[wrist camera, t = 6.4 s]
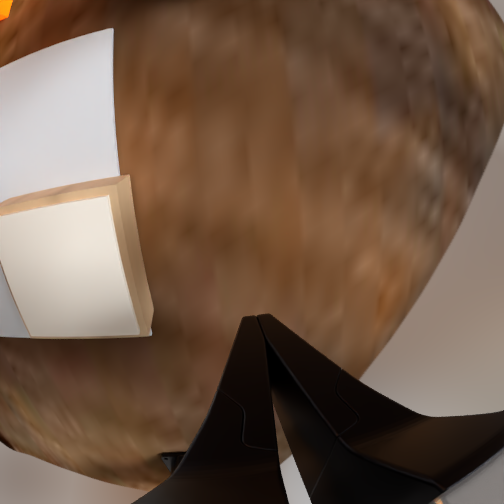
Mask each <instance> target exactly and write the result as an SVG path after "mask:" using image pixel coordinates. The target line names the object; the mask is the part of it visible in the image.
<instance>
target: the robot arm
mask: <svg viewBox="0 0 504 504" xmlns="http://www.w3.org/2000/svg"><path fill="white" fill-rule="evenodd" d="M272 401H273V402H272ZM273 404H274V407H275V409H276V412H277V415H278V417H279V420H280V423H281V425H282V428H283V431H284V433H285V436H286V439H287V441H288V444H289V447H290V449H291V452H292V454H293V457H294V460H295V462H296V465H297V467H298V470H299V472H300V475H301V478H302V480H303V482H304V485H305V488H306V490H307V492H308V495H309V497H310V500H311V503H312V504H504V410H503V411H500V412H494V413H486V414H477V415H465V416H450V417H430V416H425V415H421V414H419V413H416V412H414V411H412V410H410V409H408V408H406V407H404V406H403V405H401V404H399V403H397V402H395V401H393V400H391V399H389V398H388V397H386V396H384V395H382V394H380V393H379V392H377V391H375V390H373V389H372V388H370V387H368V386H367V385H365V384H363V383H362V382H361V381H359V380H358V379H356V378H355V377H353V376H352V375H350V374H349V373H348V372H346V371H345V370H343V369H342V370H341V367H339V366H338V365H337V364H335V363H334V362H333V361H331V360H330V359H328V358H327V357H326V356H324V355H323V354H322V353H320V352H319V351H318V350H316V349H315V348H314V347H313V346H311V345H310V344H309V343H307V342H306V341H305V340H303V339H302V338H301V337H299V336H298V335H297V334H295V333H294V332H293V331H292V330H290V329H289V328H288V327H286V326H285V325H284V324H282V323H281V322H280V321H279V320H277V319H276V318H275V317H274V316H272V315H271V314H261V315H257V317H256V316H254V315H253V316H245V317H243V318H242V320H241V323H240V326H239V329H238V331H237V334H236V337H235V340H234V343H233V346H232V349H231V351H230V354H229V357H228V360H227V363H226V366H225V368H224V371H223V374H222V377H221V380H220V382H219V385H218V388H217V391H216V393H215V396H214V399H213V401H212V404H211V406H210V409H209V411H208V414H207V416H206V418H205V420H204V422H203V423H202V425H201V427H200V429H199V431H198V433H197V434H196V436H195V438H194V440H193V441H192V443H191V445H190V447H189V448H188V450H187V452H186V453H179V454H162V455H161V459H162V460H163V462H164V463H165V465H166V466H167V468H168V469H169V471H170V472H171V476H170V477H169V478H168V479H167V480H165V481H164V482H163V483H161V484H160V485H159V486H157V487H156V488H154V489H153V490H151V491H150V492H148V493H147V494H145V495H144V496H143V497H141V498H139V499H138V500H136V501H135V502H133V503H132V504H289V502H288V498H287V494H286V490H285V486H284V483H283V478H282V474H281V470H280V463H279V455H278V446H277V437H276V429H275V420H274V411H273Z"/></svg>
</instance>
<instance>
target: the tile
mask: <svg viewBox="0 0 504 504" xmlns="http://www.w3.org/2000/svg"><path fill="white" fill-rule="evenodd" d="M0 265H1V268H2V271H3V274H4V276H5V279H6V282H7V285H8V287H9V290H10V292H11V295H12V297H13V300H14V302H15V305H16V307H17V309H18V312H19V314H20V316H21V318H22V320H23V323H24V325H25V327H26V329H27V331H28V333H29V335H30V337H31V338H40V339H96V338H127V337H146V336H149V334H150V328H151V323H152V317H153V312H154V308H153V303H152V299H151V295H150V291H149V286H148V282H147V277H146V272H145V267H144V262H143V257H142V252H141V247H140V241H139V236H138V230H137V224H136V218H135V211H134V205H133V198H132V190H131V182H130V174H129V175H122V176H116V177H109V178H103V179H97V180H91V181H86V182H80V183H75V184H70V185H65V186H60V187H55V188H50V189H46V190H41V191H37V192H33V193H28V194H24V195H20V196H16V197H12V198H9V199H7V200H5V201H3V202H1V203H0Z"/></svg>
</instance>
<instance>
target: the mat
mask: <svg viewBox="0 0 504 504" xmlns="http://www.w3.org/2000/svg"><path fill="white" fill-rule="evenodd" d="M113 36H114V29H113V28H110V29H106V30H102V31H98V32H94V33H90V34H87V35H83V36H80V37H77V38H73V39H70V40H67V41H64V42H61V43H58V44H55V45H53V46H50V47H47V48H45V49H42V50H39V51H37V52H35V53H32V54H30V55H27V56H25V57H23V58H20V59H18V60H16V61H14V62H12V63H10V64H8V65H5V66H3V67H1V68H0V203H1V202H3V201H5V200H7V199H9V198H12V197H16V196H20V195H24V194H28V193H33V192H37V191H41V190H46V189H50V188H55V187H60V186H65V185H70V184H75V183H80V182H86V181H91V180H97V179H103V178H109V177H116V176H120V170H119V162H118V152H117V141H116V129H115V114H114V93H113ZM149 336H152V330H151V328H150V334H149ZM0 337H20V338H31V337H30V335H29V333H28V331H27V329H26V327H25V325H24V323H23V320H22V318H21V316H20V314H19V312H18V309H17V307H16V305H15V302H14V300H13V297H12V295H11V292H10V290H9V287H8V285H7V282H6V279H5V276H4V274H3V271H2V268H1V265H0Z"/></svg>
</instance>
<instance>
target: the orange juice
mask: <svg viewBox="0 0 504 504" xmlns="http://www.w3.org/2000/svg"><path fill="white" fill-rule="evenodd" d="M12 1H13V0H0V20H2V19H4V18H7V17H8V15H9V11H10V8H11V4H12Z"/></svg>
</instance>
